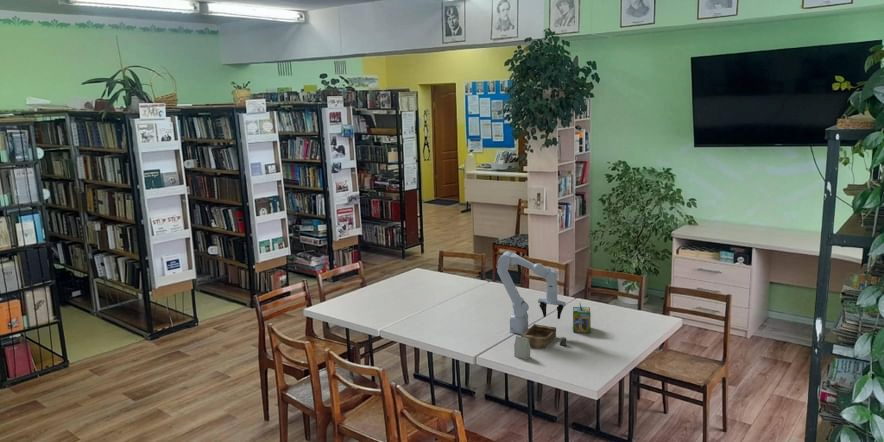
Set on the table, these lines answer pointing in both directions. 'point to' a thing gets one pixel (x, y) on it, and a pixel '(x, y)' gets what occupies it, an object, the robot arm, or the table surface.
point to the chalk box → (581, 319)
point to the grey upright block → (522, 348)
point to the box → (540, 335)
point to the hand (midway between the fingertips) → (551, 317)
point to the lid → (562, 341)
